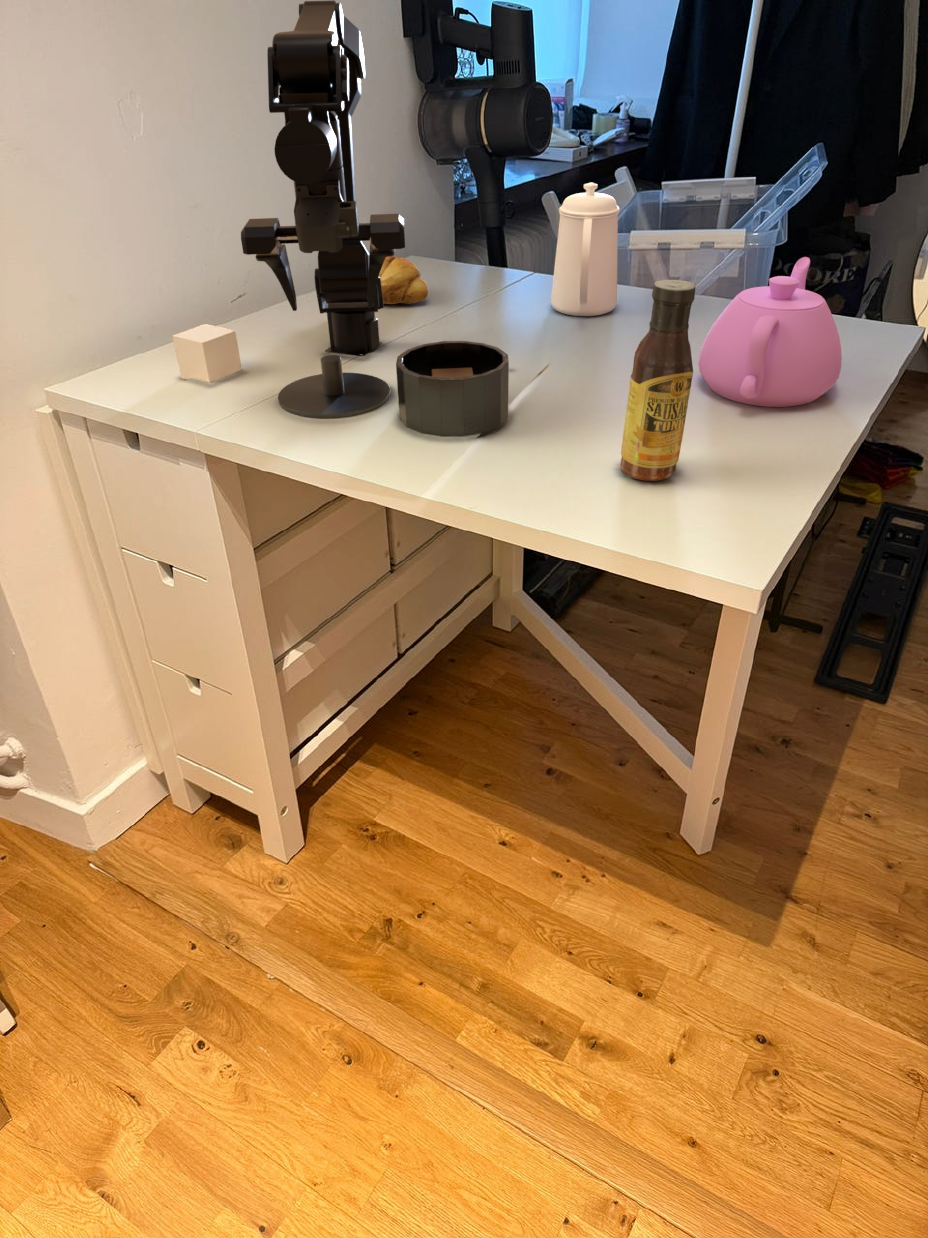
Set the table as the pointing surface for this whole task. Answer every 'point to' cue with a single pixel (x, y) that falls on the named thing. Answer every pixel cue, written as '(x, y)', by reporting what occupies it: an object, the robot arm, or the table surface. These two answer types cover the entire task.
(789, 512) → the table surface
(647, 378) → the sauce bottle
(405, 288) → the bread roll
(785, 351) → the teapot
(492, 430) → the pot
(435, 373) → the block
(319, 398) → the lid
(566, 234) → the coffeepot
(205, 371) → the beige cube
